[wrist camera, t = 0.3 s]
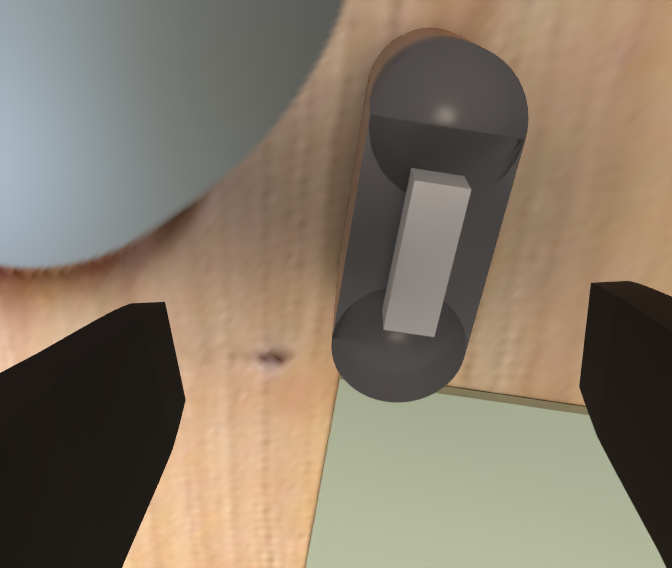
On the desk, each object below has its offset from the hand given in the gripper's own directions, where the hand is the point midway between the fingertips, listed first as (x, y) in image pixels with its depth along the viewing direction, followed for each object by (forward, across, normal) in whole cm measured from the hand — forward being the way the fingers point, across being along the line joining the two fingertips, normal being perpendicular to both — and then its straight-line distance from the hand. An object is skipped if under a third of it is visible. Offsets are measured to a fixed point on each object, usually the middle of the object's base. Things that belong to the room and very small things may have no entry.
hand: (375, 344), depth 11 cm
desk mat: (+9, -5, +16) cm, 19 cm away
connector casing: (+9, -1, 0) cm, 9 cm away
